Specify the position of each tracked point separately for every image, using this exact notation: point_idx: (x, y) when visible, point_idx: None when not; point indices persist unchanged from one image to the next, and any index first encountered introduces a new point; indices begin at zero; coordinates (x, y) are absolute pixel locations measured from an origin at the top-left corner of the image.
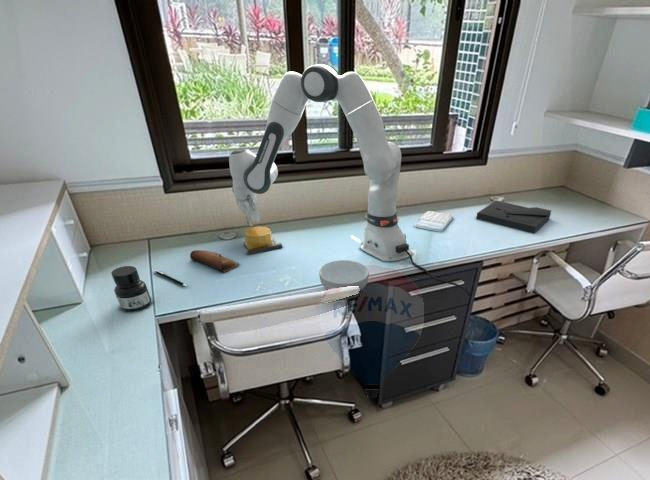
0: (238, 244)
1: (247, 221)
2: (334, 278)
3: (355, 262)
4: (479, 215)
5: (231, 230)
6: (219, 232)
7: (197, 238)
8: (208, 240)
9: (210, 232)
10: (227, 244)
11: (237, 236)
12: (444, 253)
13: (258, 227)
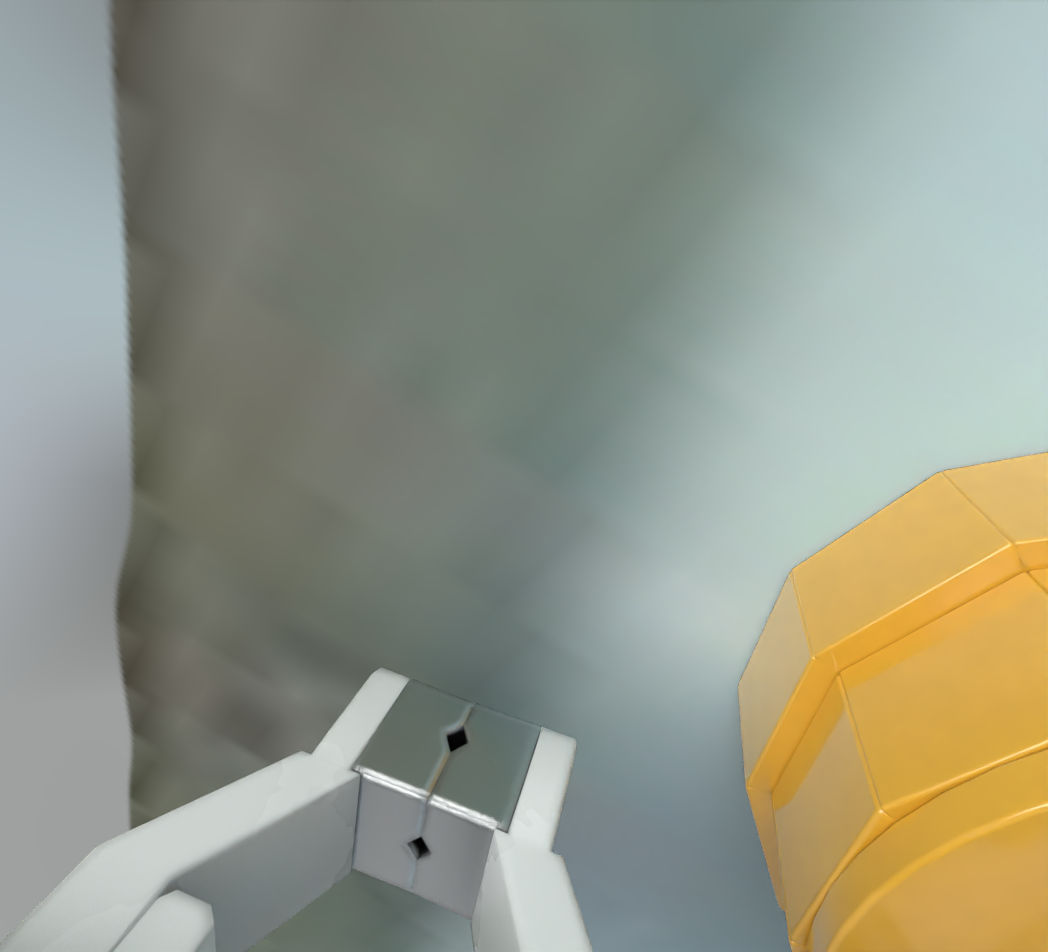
0: (720, 887)
1: (376, 853)
2: None
3: None
4: None
5: (185, 639)
6: (191, 758)
7: (254, 946)
8: (355, 941)
9: (155, 805)
10: (603, 939)
11: None
12: None
13: (1033, 900)
